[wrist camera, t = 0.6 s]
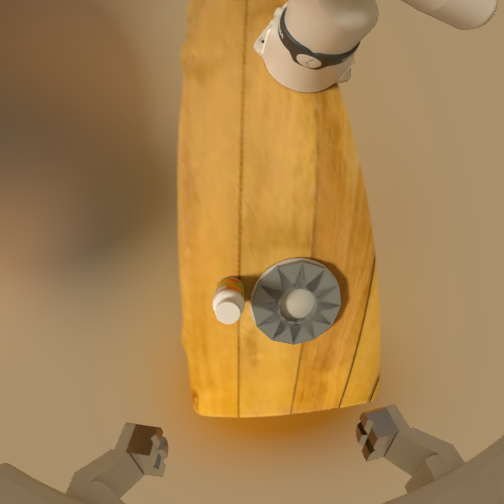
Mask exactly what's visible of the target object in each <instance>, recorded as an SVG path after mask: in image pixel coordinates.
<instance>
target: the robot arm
mask: <svg viewBox="0 0 504 504" xmlns="http://www.w3.org/2000/svg"><path fill="white" fill-rule="evenodd" d="M401 1H403V2H405V3H406V4H408V5H410V6H412V7H413V8H415V9H417V10H418V11H421V12H423V13H425V14H428V15H430V16H432V17H434V18H436V19H438V20H440V21H442V22H445V23H447V24H449V25H451V26H453V27H455V28H457V29H462V30H469V29H475V28H478V27H481V26H483V25H485V24H486V23H487V22H488V21H490V19H491V18H492V17H493V15H494V14H495V12H496V8H497V2H498V0H401ZM378 14H379V13H378V7H377V3H376V1H375V0H288V2H287V3H286V4H285V5H284V6H283V7H282V8H280V7H278V8H277V9H276V11H275V13H274V16H275V17H274V18H273V19H272V20H271V22H270V23H269V25H268V26H267V27H266V28H265V30H264V31H263V32H262V34H261V35H260V36H259V38H258V39H257V40H256V42H255V44H254V50H255V51H256V52H257V53H258V54H259V55H260V56H261V57H262V58H263V60H264V62H265V65H266V67H267V69H268V71H269V73H270V74H271V75H272V76H273V78H274V79H275V80H277V81H278V82H279V83H280V84H282V85H284V86H285V87H287V88H290V89H292V90H295V91H299V92H307V93H311V92H318V91H322V90H324V89H326V88H328V87H330V86H331V85H333V84H335V83H342V82H346V81H348V80H349V79H350V76H351V66H352V65H353V64H354V59H353V54H354V52H355V51H356V49H357V48H358V46H359V44H360V41H361V40H362V39H363V38H364V37H365V35H367V34H368V33H369V32H370V31H371V30H372V29H373V28H374V26H375V25H376V23H377V20H378ZM262 41H264V43H262ZM360 421H361V422H360V423H359V424H357V428H356V437H357V440H358V443H359V444H361V445H362V446H363V449H362V453H363V455H364V457H365V460H366V462H367V461H371V460H375V459H378V458H381V457H384V458H385V459H387V460H388V461H390V462H391V463H393V464H394V465H396V466H397V467H399V468H400V469H402V470H403V471H405V472H406V473H408V474H409V475H411V476H412V478H411V479H410V480H409V481H408V482H407V483H406V485H405V488H406V491H407V494H405V495H402V496H400V497H397V498H395V499H392V500H390V501H387V502H384V503H382V504H504V435H503V436H502V437H501V438H499V439H498V440H497V441H496V442H494V443H493V444H492V445H490V446H489V447H488V448H486V449H485V450H483V451H482V452H481V453H479V454H478V455H476V456H475V457H473V458H472V459H470V460H469V461H467V462H466V463H465V462H464V461H463V459H462V458H461V456H460V455H459V453H458V452H457V450H456V449H455V447H454V446H453V445H452V444H450V443H448V442H445V441H443V440H441V439H438V438H436V437H434V436H431V435H429V434H427V433H425V432H422V431H420V430H418V429H416V428H414V427H413V428H410V427H409V425H408V424H407V422H406V420H405V419H404V417H403V416H402V414H401V413H400V411H399V409H398V408H397V406H396V405H395V404H392V405H389V406H386V407H381V408H378V409H374V410H371V411H367V412H363V413H362V414H361V415H360ZM162 435H163V431H162V429H161V427H153V426H146V425H139V424H133V423H126V424H125V425H124V427H123V429H122V431H121V434H120V436H119V439H118V441H117V444H116V447H115V449H114V450H113V449H111V450H109V451H108V452H106V453H105V454H103V455H102V456H100V457H99V458H97V459H96V460H94V461H92V462H91V463H89V464H88V465H86V466H85V467H83V468H81V469H80V470H78V471H76V472H75V473H74V476H73V478H72V480H71V482H70V485H69V487H68V490H67V492H66V494H65V493H63V492H61V491H59V490H56V489H54V488H52V487H50V486H48V485H46V484H44V483H42V482H40V481H38V480H36V479H35V478H32V477H31V476H29V475H27V474H26V473H24V472H22V471H21V470H19V469H17V468H16V467H14V466H12V465H11V464H8V463H3V464H0V504H125V503H124V502H123V501H122V500H121V499H120V498H121V497H122V496H123V495H124V494H125V493H126V492H127V491H128V490H129V489H130V488H132V486H134V485H135V484H136V483H137V482H138V481H139V480H140V479H141V478H142V477H143V476H144V474H145V475H152V476H160V477H163V474H164V470H165V466H166V465H165V463H164V461H163V460H164V459H166V458H167V456H168V442H167V440H166V438H164V437H163V436H162Z"/></svg>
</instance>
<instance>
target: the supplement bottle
mask: <svg viewBox="0 0 504 504" xmlns="http://www.w3.org/2000/svg"><path fill="white" fill-rule="evenodd" d="M244 293H245V292H244V286H243V284H242V282H241V281H240V280H239V279H237V278H235V277H225V278H223V279H221V280H220V281H219V282H218V284H217V286H216V290H215V295H214V299H213V309H214V311H215V314H216V317H217V319H218V320H219V321H220V322H222V323H225V324H232V323H234V322H236V321H237V320H238V319H239V317H240V315H241V314H242V312H243V311H244V307H245V294H244Z"/></svg>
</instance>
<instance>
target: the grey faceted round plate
mask: <svg viewBox="0 0 504 504" xmlns="http://www.w3.org/2000/svg"><path fill="white" fill-rule="evenodd" d="M340 307H341V299H340V288H339V284H338V282H337V280H336V278H335V276H334V275H333V273H332V272H331V271H330V270H329V269H328V268H327V267H326V266H324V265H323V264H321V263H320V262H318V261H315V260H313V259H308V258H290V259H286V260H282V261H280V262H278V263H275V264H274V265H272V266H270V267H269V268H268V269H267V270H265V271H264V272H263V273H262V274H261V275H260V277H259V278H258V279H257V281H256V283H255V284H254V287H253V289H252V292H251V297H250V309H251V314H252V317H253V320H254V322H255V323H256V326H257V327H258V328H259V329H260V330H261V331H262V332H263V333H265V334H266V335H267V336H268V337H269V338H270V339H271V340H273V341H278V342H283V343H288V344H293V345H294V344H298V343H302V342H306V341H309V340H313V339H316V338H317V337H318V336H319V335H321V334H322V333H323V332H324V331H326V330H327V329H328V328H329V327H330V326H332V324H333V322H334V320H335V318H336V316H337V314H338V312H339V309H340Z"/></svg>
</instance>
